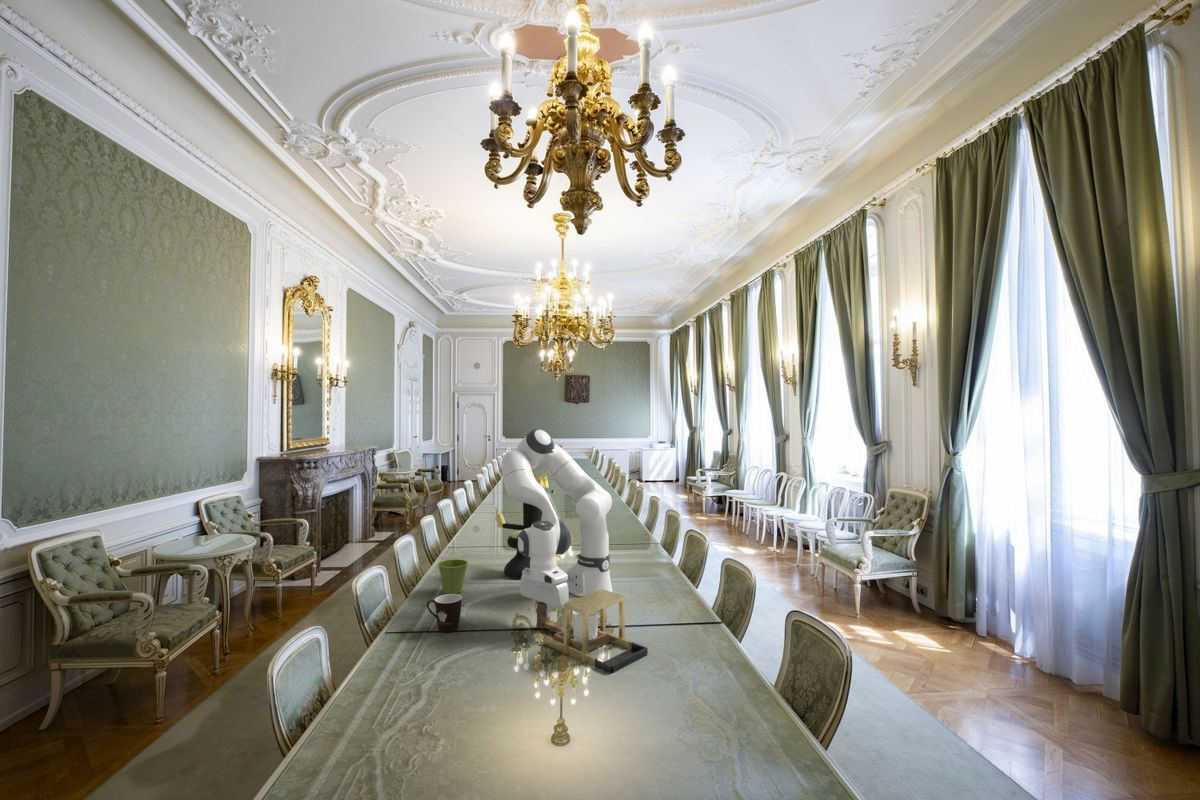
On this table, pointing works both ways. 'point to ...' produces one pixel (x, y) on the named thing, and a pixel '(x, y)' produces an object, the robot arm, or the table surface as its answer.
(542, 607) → the wooden frame with handle
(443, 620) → the coffee mug
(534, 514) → the candelabra
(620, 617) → the tunnel
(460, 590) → the plant pot
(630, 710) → the table surface
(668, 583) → the table surface
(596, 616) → the white cup
